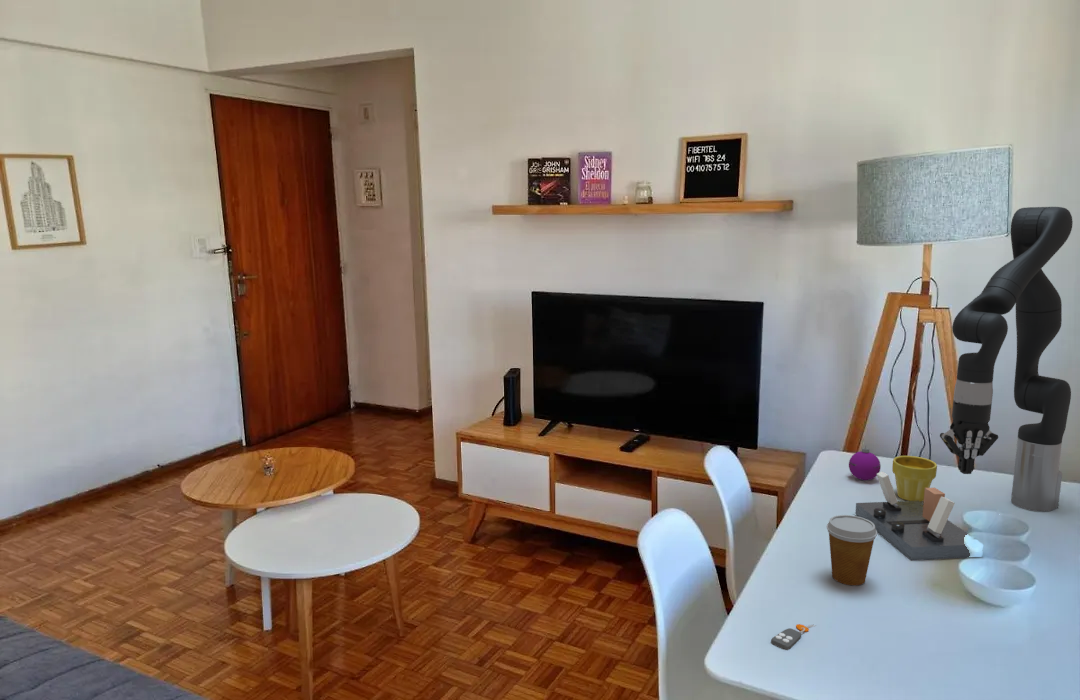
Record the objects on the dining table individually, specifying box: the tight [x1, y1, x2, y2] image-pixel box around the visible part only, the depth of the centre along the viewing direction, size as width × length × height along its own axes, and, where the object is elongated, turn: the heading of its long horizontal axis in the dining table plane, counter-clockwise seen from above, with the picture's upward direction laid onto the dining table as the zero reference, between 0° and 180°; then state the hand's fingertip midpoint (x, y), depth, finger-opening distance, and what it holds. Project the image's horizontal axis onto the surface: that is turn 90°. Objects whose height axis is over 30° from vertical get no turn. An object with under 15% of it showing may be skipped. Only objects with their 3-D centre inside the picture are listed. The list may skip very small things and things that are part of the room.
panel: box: [854, 500, 970, 561], centre depth 172 cm, size 16×25×4 cm, turn 3°
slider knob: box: [922, 487, 946, 522], centre depth 171 cm, size 2×4×7 cm, turn 4°
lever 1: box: [876, 471, 898, 508], centre depth 179 cm, size 2×4×8 cm, turn 3°
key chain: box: [770, 623, 817, 651], centre depth 133 cm, size 13×4×2 cm, turn 133°
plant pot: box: [891, 455, 938, 503], centre depth 193 cm, size 10×10×10 cm
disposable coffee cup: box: [826, 514, 878, 586], centre depth 151 cm, size 10×10×12 cm
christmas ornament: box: [848, 445, 882, 481], centre depth 207 cm, size 8×8×10 cm
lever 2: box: [927, 496, 955, 538], centre depth 162 cm, size 2×4×8 cm, turn 4°
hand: (965, 472), depth 170 cm, fingers closed
